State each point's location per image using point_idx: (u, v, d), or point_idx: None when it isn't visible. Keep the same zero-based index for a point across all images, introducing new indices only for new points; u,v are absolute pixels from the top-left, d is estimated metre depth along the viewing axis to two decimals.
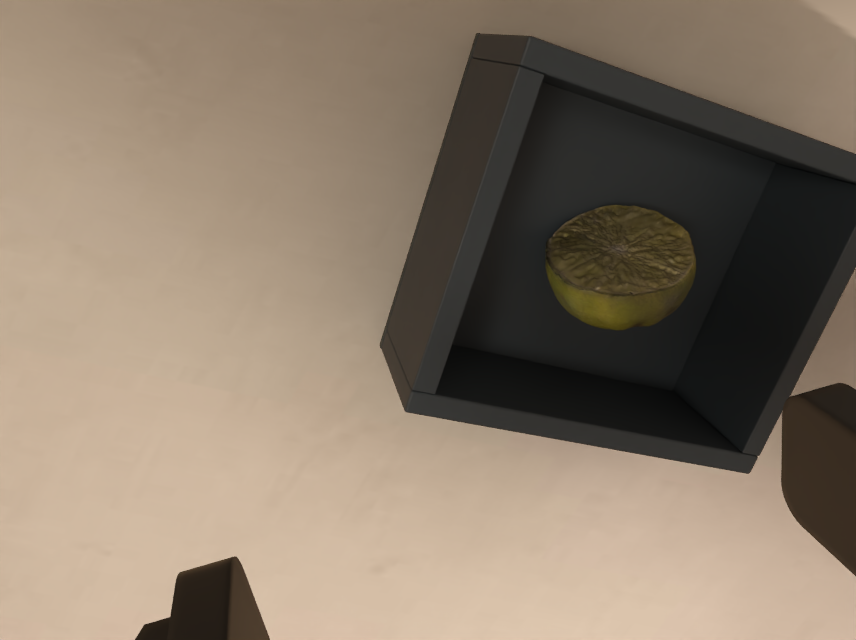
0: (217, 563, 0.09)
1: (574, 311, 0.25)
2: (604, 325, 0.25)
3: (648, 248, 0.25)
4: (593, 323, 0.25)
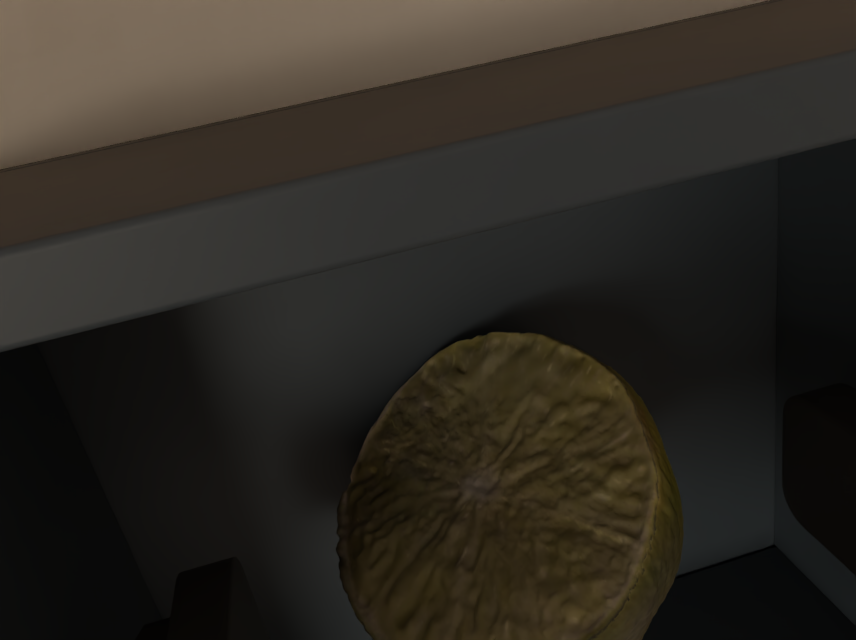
0: (217, 563, 0.09)
1: None
2: None
3: (543, 464, 0.10)
4: None
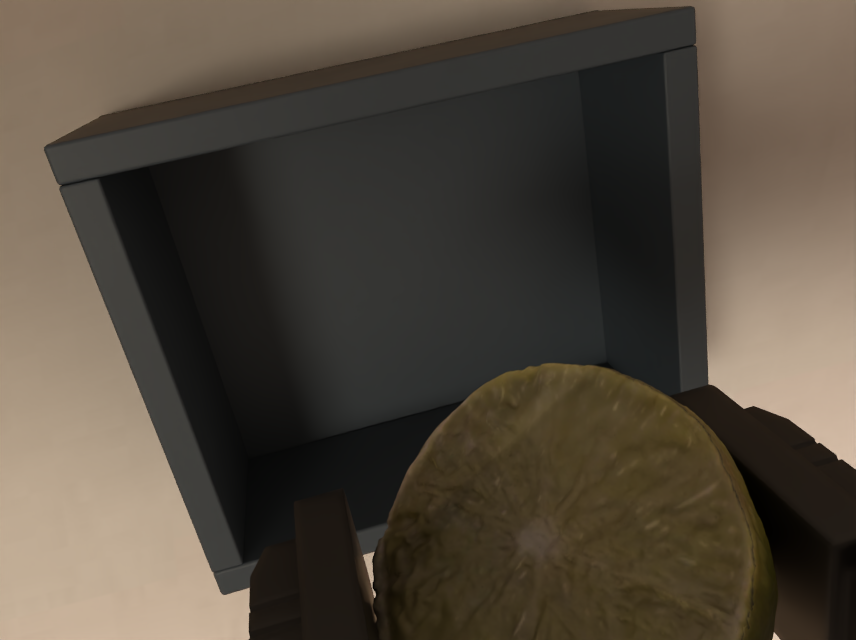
0: (329, 492, 0.10)
1: None
2: None
3: (612, 518, 0.09)
4: None
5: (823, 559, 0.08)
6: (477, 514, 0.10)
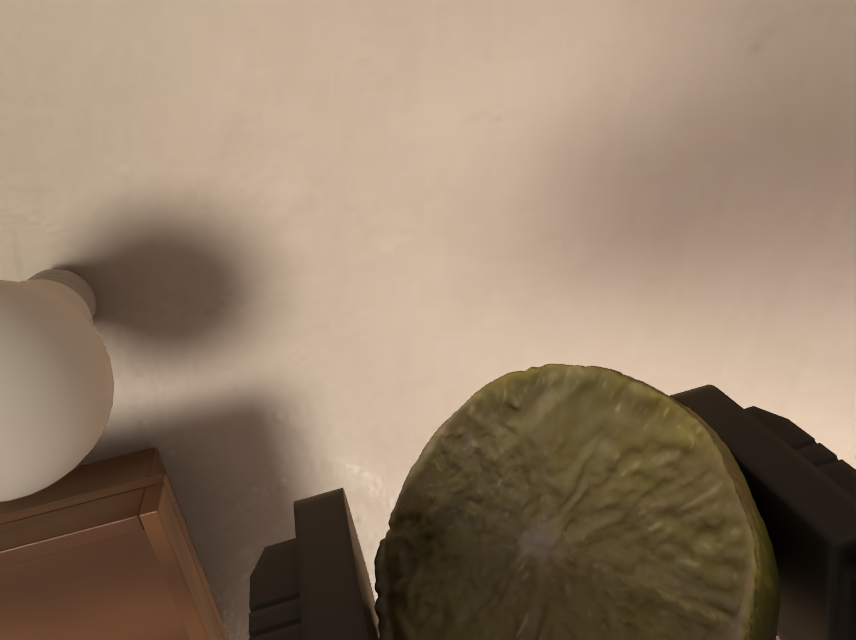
0: (328, 493, 0.10)
1: None
2: None
3: (614, 519, 0.09)
4: None
5: (823, 559, 0.08)
6: (479, 515, 0.10)
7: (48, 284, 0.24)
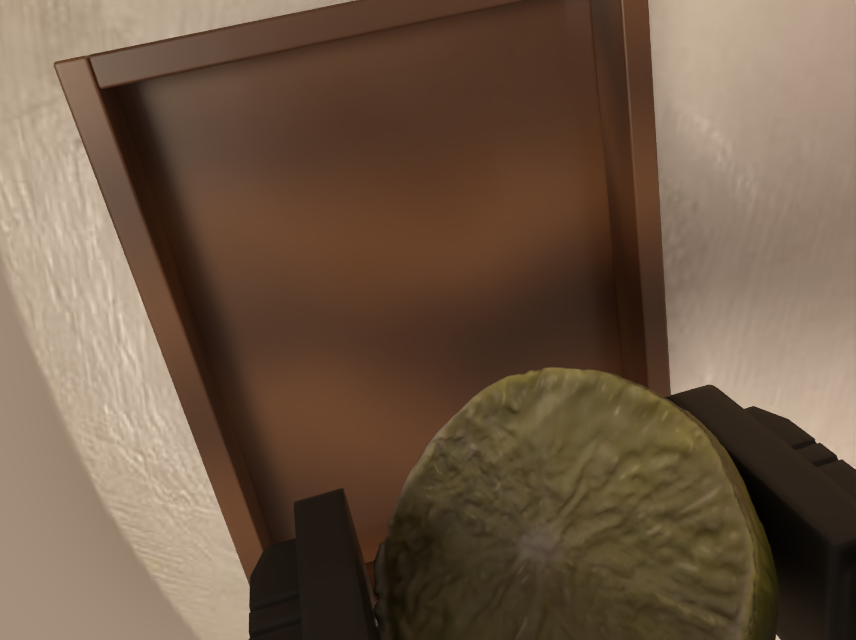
0: (329, 493, 0.10)
1: None
2: None
3: (613, 523, 0.09)
4: None
5: (823, 559, 0.08)
6: (478, 518, 0.10)
7: None
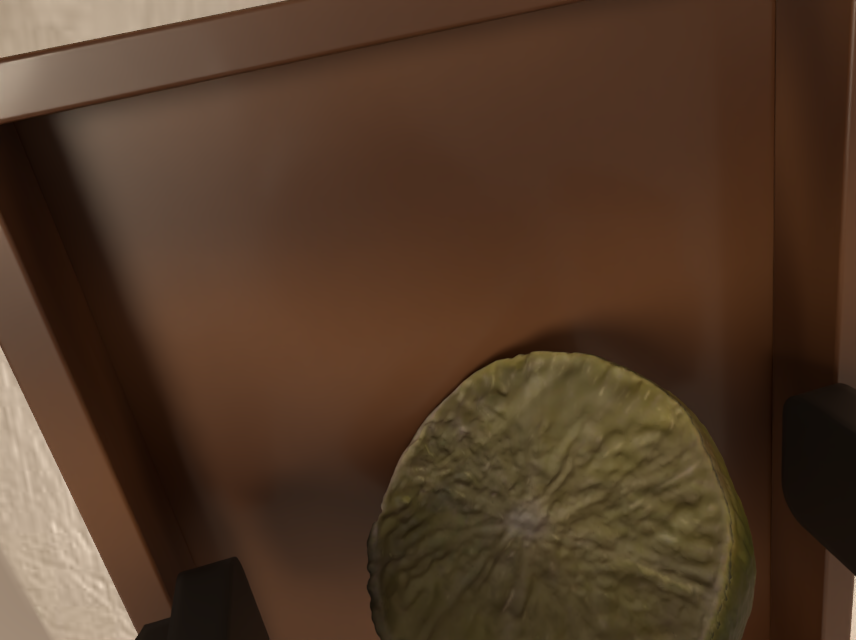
0: (217, 563, 0.09)
1: None
2: None
3: (598, 498, 0.09)
4: None
5: None
6: (468, 497, 0.10)
7: None
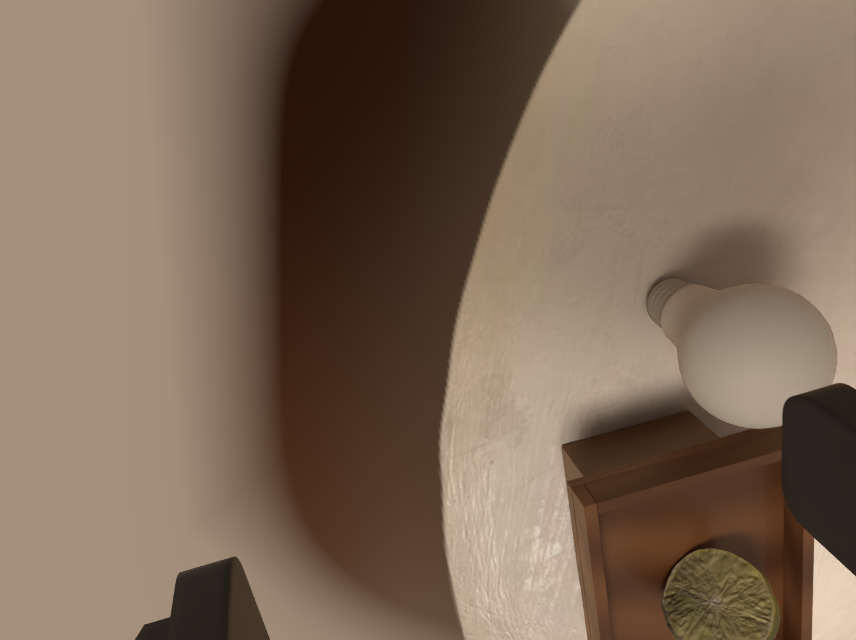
0: (217, 563, 0.09)
1: None
2: None
3: (737, 596, 0.33)
4: None
5: None
6: (695, 593, 0.34)
7: (710, 288, 0.35)
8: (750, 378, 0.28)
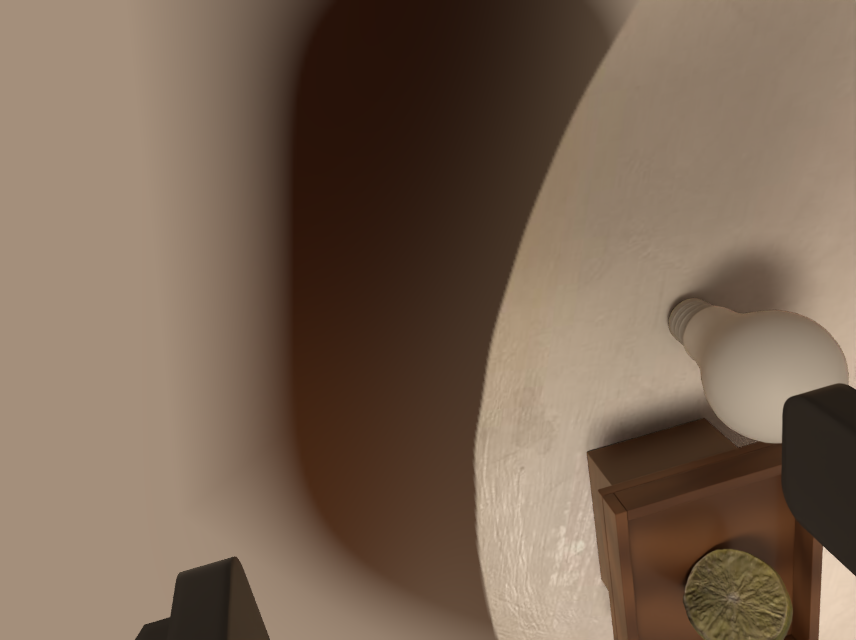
0: (217, 563, 0.09)
1: None
2: None
3: (753, 593, 0.36)
4: None
5: None
6: (714, 590, 0.37)
7: (729, 309, 0.37)
8: (770, 400, 0.31)
